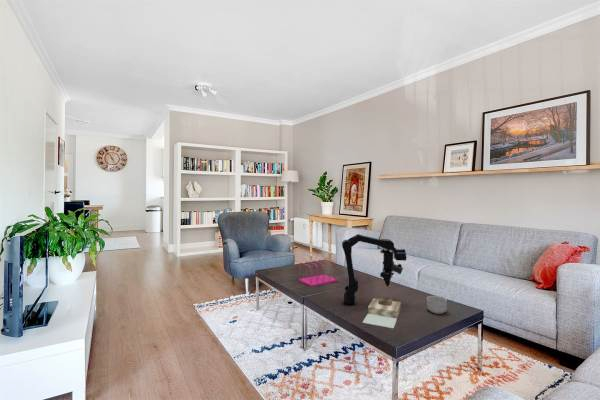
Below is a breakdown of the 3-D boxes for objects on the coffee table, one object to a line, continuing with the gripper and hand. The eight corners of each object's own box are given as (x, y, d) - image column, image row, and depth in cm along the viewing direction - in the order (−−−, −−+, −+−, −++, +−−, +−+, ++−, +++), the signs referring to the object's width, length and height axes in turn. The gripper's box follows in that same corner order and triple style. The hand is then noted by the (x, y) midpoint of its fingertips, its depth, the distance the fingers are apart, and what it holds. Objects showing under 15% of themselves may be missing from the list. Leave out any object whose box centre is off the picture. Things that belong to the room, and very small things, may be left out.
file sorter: (337, 281, 236) (337, 261, 236) (310, 287, 223) (310, 266, 223) (324, 276, 251) (324, 257, 251) (298, 281, 238) (298, 261, 238)
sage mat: (362, 322, 163) (362, 322, 163) (367, 313, 175) (367, 313, 175) (393, 328, 156) (393, 328, 156) (397, 318, 168) (397, 318, 168)
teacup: (440, 317, 170) (440, 303, 170) (422, 311, 179) (422, 297, 178) (453, 311, 178) (453, 297, 178) (435, 305, 187) (435, 292, 187)
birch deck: (367, 313, 175) (367, 306, 175) (373, 304, 189) (373, 298, 189) (397, 318, 168) (397, 311, 168) (400, 308, 182) (400, 301, 182)
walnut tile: (378, 304, 179) (378, 300, 179) (380, 300, 185) (380, 297, 184) (390, 305, 176) (390, 302, 176) (392, 302, 182) (392, 298, 182)
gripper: (399, 264, 176) (399, 291, 176) (403, 258, 193) (403, 282, 193) (380, 263, 181) (380, 289, 181) (385, 256, 197) (385, 280, 198)
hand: (388, 285), depth 188 cm, fingers open, 3 cm apart
